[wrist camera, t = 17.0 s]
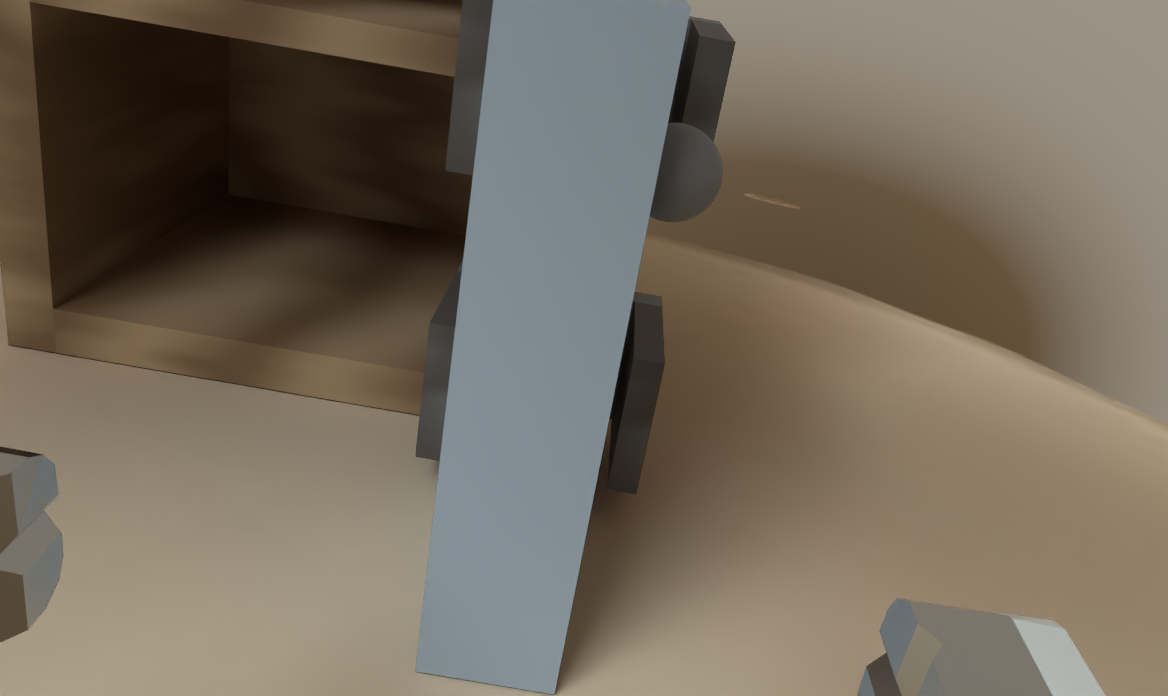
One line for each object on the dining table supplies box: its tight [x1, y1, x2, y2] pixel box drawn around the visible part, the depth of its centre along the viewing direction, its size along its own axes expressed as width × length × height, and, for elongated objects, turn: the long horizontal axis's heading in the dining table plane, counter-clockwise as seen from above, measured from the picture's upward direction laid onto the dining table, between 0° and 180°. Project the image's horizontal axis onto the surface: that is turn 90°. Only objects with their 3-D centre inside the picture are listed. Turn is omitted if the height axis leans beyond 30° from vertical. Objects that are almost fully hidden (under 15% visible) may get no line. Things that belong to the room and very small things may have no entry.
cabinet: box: [0, 0, 735, 494], centre depth 30 cm, size 20×19×22 cm
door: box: [415, 0, 723, 695], centre depth 22 cm, size 10×4×14 cm, turn 177°
